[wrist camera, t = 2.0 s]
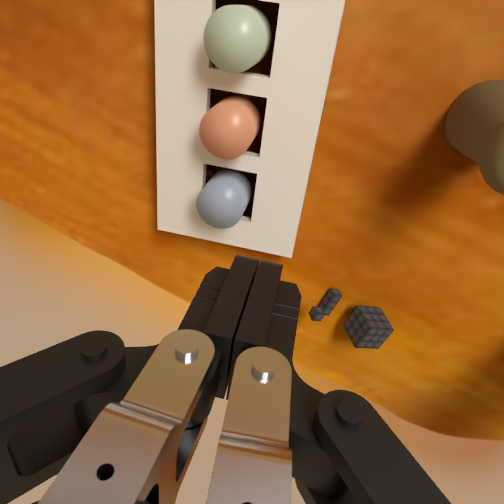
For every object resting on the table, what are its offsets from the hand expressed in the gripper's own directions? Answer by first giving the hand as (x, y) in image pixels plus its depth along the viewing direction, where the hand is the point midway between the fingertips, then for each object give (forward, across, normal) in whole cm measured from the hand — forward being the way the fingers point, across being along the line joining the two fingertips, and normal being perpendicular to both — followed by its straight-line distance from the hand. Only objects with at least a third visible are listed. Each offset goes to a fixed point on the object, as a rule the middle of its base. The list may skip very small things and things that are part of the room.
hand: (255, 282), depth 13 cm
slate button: (+24, +6, +9) cm, 26 cm away
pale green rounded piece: (+24, +6, -4) cm, 25 cm away
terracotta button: (+24, +6, +2) cm, 25 cm away
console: (+26, +6, +2) cm, 27 cm away
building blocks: (+26, -9, +21) cm, 35 cm away
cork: (+26, -14, -1) cm, 30 cm away
